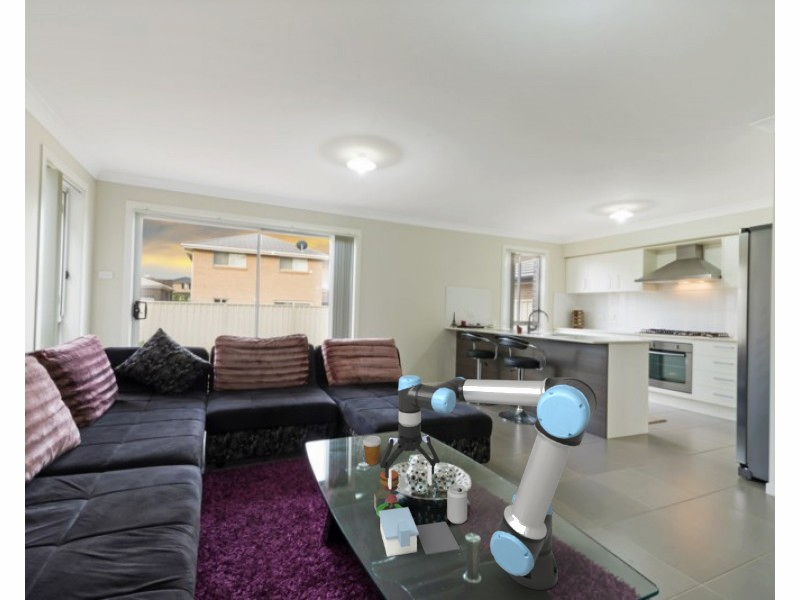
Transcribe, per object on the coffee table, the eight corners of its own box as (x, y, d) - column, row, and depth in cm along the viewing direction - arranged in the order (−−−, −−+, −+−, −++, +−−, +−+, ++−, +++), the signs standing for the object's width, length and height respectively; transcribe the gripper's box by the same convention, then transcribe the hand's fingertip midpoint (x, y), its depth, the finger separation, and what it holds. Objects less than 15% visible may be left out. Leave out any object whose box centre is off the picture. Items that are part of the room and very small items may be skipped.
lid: (422, 543, 121) (422, 528, 121) (388, 549, 119) (388, 533, 119) (408, 509, 140) (408, 495, 140) (378, 513, 138) (378, 499, 138)
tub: (416, 551, 126) (416, 534, 126) (387, 556, 124) (387, 538, 124) (407, 526, 140) (407, 510, 139) (380, 530, 137) (380, 513, 137)
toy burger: (408, 504, 154) (408, 467, 153) (399, 522, 142) (399, 483, 141) (380, 500, 157) (380, 464, 157) (370, 517, 145) (369, 479, 144)
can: (466, 526, 139) (466, 494, 139) (446, 524, 141) (446, 492, 140) (467, 514, 147) (467, 484, 146) (448, 512, 148) (447, 482, 148)
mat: (460, 549, 127) (460, 548, 127) (425, 554, 124) (425, 553, 124) (445, 522, 142) (445, 521, 142) (414, 527, 139) (414, 525, 139)
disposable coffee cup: (360, 459, 194) (360, 436, 194) (378, 457, 197) (378, 434, 197) (364, 468, 185) (364, 443, 185) (383, 465, 188) (383, 441, 188)
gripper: (442, 416, 132) (442, 476, 133) (371, 420, 128) (371, 482, 129) (449, 424, 125) (448, 487, 125) (373, 429, 120) (373, 494, 121)
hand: (409, 485), depth 127 cm, fingers open, 13 cm apart
